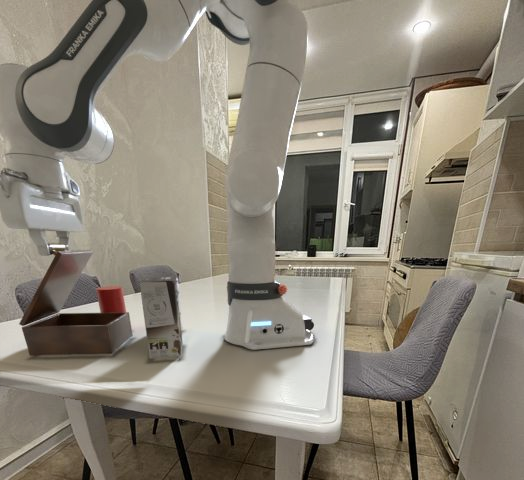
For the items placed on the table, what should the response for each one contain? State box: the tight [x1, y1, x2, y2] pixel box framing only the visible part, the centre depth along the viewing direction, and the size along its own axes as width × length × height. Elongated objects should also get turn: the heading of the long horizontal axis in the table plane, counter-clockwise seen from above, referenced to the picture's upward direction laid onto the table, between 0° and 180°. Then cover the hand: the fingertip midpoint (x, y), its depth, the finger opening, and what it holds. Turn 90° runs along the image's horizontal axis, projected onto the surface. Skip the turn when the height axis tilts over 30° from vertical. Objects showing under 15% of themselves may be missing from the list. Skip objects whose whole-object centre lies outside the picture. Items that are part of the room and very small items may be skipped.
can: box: [95, 285, 127, 313], centre depth 76 cm, size 6×6×12 cm
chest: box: [21, 311, 133, 356], centre depth 66 cm, size 17×13×7 cm
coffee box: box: [139, 275, 184, 360], centre depth 61 cm, size 9×6×16 cm
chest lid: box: [18, 242, 94, 327], centre depth 61 cm, size 17×13×5 cm
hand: (56, 255), depth 60 cm, fingers closed on chest lid, 5 cm apart
